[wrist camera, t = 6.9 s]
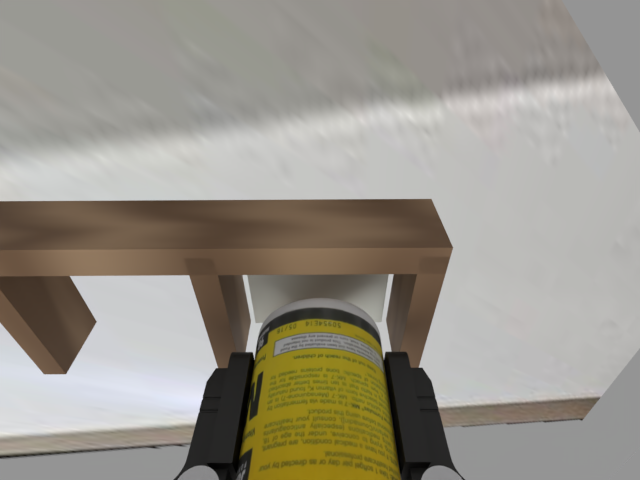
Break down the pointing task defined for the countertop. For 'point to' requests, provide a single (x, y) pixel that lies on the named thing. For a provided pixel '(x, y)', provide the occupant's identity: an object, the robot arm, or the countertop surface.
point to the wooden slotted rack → (220, 263)
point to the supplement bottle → (318, 398)
